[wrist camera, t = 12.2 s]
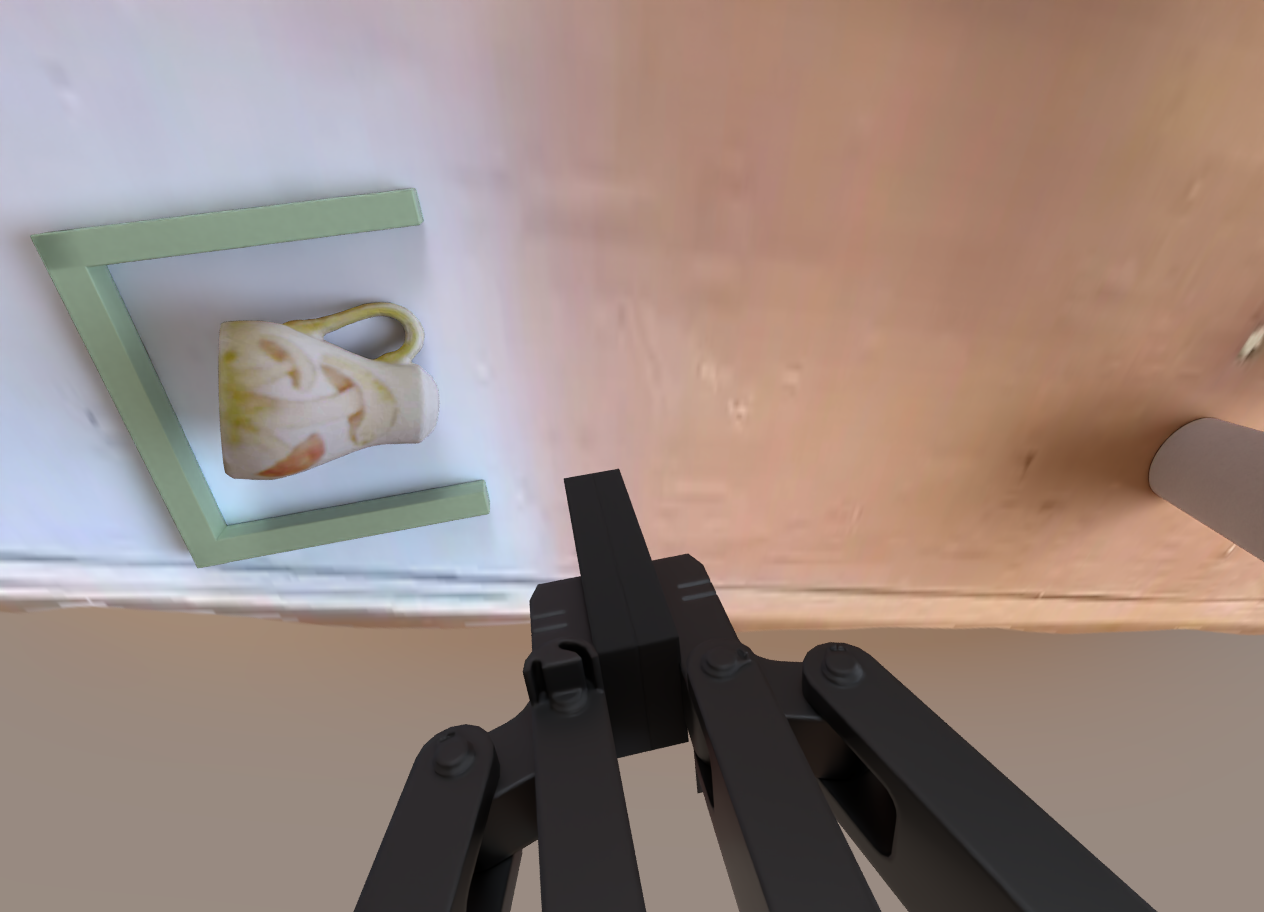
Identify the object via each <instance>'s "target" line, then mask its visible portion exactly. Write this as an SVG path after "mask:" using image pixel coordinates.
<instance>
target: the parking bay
mask: <svg viewBox="0 0 1264 912" xmlns="http://www.w3.org/2000/svg"><path fill="white" fill-rule="evenodd" d="M423 221H424V220H423V216H422V212H421V208H420V203H419V199H418V195H417V191H416V189H415V188H411V189H403V190H394V191H386V192H378V193H369V194H361V195H353V196H344V197H336V198H328V199H319V200H311V201H303V202H294V203H286V204H278V205H269V206H261V207H252V208H244V209H236V210H227V211H219V212H211V213H202V214H194V215H186V216H177V217H169V218H161V219H152V220H144V221H136V222H127V223H119V224H111V225H102V226H94V227H85V228H77V229H69V230H60V231H52V232H46V233H41V234H35V235H31V236H30V237H31V239H32V241H33V243H34V245H35V247H36V249H37V251H38V253H39V255H40V257H41V259H42V261H43V263H44V265H45V267H46V269H47V271H48V273H49V275H50V277H51V279H52V281H53V283H54V285H55V287H56V289H57V291H58V293H59V295H60V297H61V299H62V301H63V302H64V304H65V306H66V308H67V310H68V312H69V314H70V316H71V318H72V320H73V322H74V324H75V326H76V328H77V330H78V332H79V334H80V336H81V338H82V340H83V342H84V344H85V346H86V348H87V350H88V352H89V354H90V356H91V358H92V360H93V362H94V364H95V366H96V368H97V370H98V372H99V374H100V376H101V378H102V380H103V382H104V384H105V386H106V388H107V390H108V392H109V394H110V396H111V398H112V399H113V401H114V403H115V405H116V407H117V409H118V411H119V413H120V415H121V417H122V419H123V421H124V423H125V425H126V427H127V429H128V431H129V433H130V435H131V437H132V439H133V441H134V443H135V445H136V447H137V449H138V451H139V453H140V455H141V457H142V459H143V461H144V463H145V465H146V467H147V469H148V471H149V473H150V475H151V477H152V479H153V481H154V483H155V485H156V487H157V489H158V491H159V493H160V495H161V496H162V498H163V500H164V502H165V504H166V506H167V508H168V510H169V512H170V514H171V516H172V518H173V520H174V522H175V524H176V526H177V528H178V530H179V532H180V534H181V536H182V538H183V540H184V542H185V544H186V546H187V548H188V550H189V552H190V554H191V556H192V558H193V560H194V562H195V564H196V566H197V568H203V567H208V566H213V565H219V564H224V563H228V562H233V561H238V560H244V559H249V558H254V557H260V556H265V555H271V554H276V553H281V552H287V551H292V550H297V549H303V548H308V547H314V546H319V545H324V544H330V543H335V542H340V541H346V540H351V539H357V538H362V537H367V536H373V535H378V534H383V533H389V532H394V531H400V530H405V529H410V528H416V527H421V526H426V525H432V524H437V523H443V522H448V521H453V520H459V519H464V518H469V517H475V516H480V515H486V514H489V512H490V500H489V496H488V491H487V487H486V483H485V480H481V481H475V482H469V483H464V484H458V485H453V486H447V487H441V488H436V489H430V490H425V491H419V492H414V493H408V494H402V495H397V496H391V497H386V498H380V499H374V500H369V501H363V502H358V503H352V504H347V505H341V506H335V507H330V508H324V509H319V510H313V511H307V512H302V513H296V514H291V515H285V516H280V517H274V518H268V519H263V520H257V521H252V522H246V523H240V524H235V525H229V526H227V525H226V523H225V521H224V519H223V517H222V514H221V512H220V510H219V508H218V506H217V504H216V502H215V499H214V497H213V495H212V493H211V491H210V489H209V486H208V484H207V482H206V480H205V478H204V476H203V473H202V471H201V469H200V467H199V465H198V463H197V460H196V458H195V456H194V454H193V452H192V450H191V447H190V445H189V443H188V441H187V439H186V437H185V435H184V432H183V430H182V428H181V426H180V424H179V422H178V419H177V417H176V415H175V413H174V411H173V409H172V406H171V404H170V402H169V400H168V398H167V396H166V393H165V391H164V389H163V387H162V385H161V383H160V380H159V378H158V376H157V374H156V372H155V370H154V368H153V365H152V363H151V361H150V359H149V357H148V355H147V352H146V350H145V348H144V346H143V344H142V342H141V339H140V337H139V335H138V333H137V331H136V329H135V326H134V324H133V322H132V320H131V318H130V316H129V313H128V311H127V309H126V307H125V305H124V303H123V301H122V298H121V296H120V294H119V292H118V290H117V288H116V285H115V283H114V281H113V279H112V277H111V275H110V272H109V270H108V268H107V266H106V265H109V264H117V263H125V262H133V261H141V260H149V259H157V258H165V257H172V256H180V255H188V254H196V253H204V252H212V251H220V250H227V249H235V248H243V247H251V246H259V245H267V244H275V243H283V242H290V241H298V240H306V239H314V238H322V237H330V236H338V235H345V234H353V233H361V232H369V231H377V230H385V229H393V228H401V227H408V226H416V225H420V224H421V223H422V222H423Z"/></svg>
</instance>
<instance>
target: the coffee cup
mask: <svg viewBox="0 0 1264 912" xmlns="http://www.w3.org/2000/svg"><path fill="white" fill-rule="evenodd" d="M1149 483H1150V487H1151V489H1152V490H1153V492H1154V493H1156V494H1157V495H1158V496H1160V497H1161V498H1163V499H1165V500H1166V501H1168V502H1169V503H1171V504H1173V505H1174V506H1176V507H1177V508H1179V509H1181V510H1182V511H1184V512H1185V513H1187V514H1189V515H1190V516H1192V517H1193V518H1195V519H1197V520H1198V521H1200V522H1201V523H1203V524H1204V525H1206V526H1208V527H1209V528H1211V529H1212V530H1214V531H1216V532H1217V533H1219V534H1220V535H1222V536H1224V537H1225V538H1227V539H1228V540H1230V541H1232V542H1233V543H1235V544H1236V545H1238V546H1239V547H1241V548H1243V549H1244V550H1246V551H1247V552H1249V553H1251V554H1252V555H1254V556H1255V557H1257V558H1259V559H1260V560H1262V561H1263V562H1264V432H1262V431H1259V430H1255V429H1252V428H1248V427H1244V426H1241V425H1237V424H1234V423H1230V422H1227V421H1223V420H1219V419H1215V418H1203V419H1199V420H1195V421H1193V422H1191V423H1188V424H1187V425H1185V426H1183V427H1182V428H1180V429H1179V430H1177V431H1176V432H1175V433H1174V434H1172V435H1171V436H1170V437H1169V438H1168V439H1167V440H1166V441H1165V443H1164V444H1163V445H1162V446H1161V448H1160V449H1159V450H1158V452H1157V454H1156V455H1155V457H1154V459H1153V461H1152V464H1151V467H1150V471H1149Z"/></svg>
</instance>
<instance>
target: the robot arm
mask: <svg viewBox="0 0 1264 912" xmlns="http://www.w3.org/2000/svg"><path fill="white" fill-rule="evenodd" d="M564 484H565V489H566V495H567V501H568V506H569V512H570V518H571V523H572V529H573V535H574V540H575V546H576V552H577V558H578V563H579V569H580V574H581V576H579V577H574V578H569V579H564V580H559V581H554V582H549V583H543V584H538V585H537V587H536V589H535V591H534V593H533V595H532V597H531V599H530V618H531V633H532V635H531V636H532V652H531V654H530V655H529V656H528V658H527V659H526V660H525V664H524V668H523V675H524V679H525V683H526V687H527V691H528V695H529V699H530V701H529V702H528V704H527V705H526V707H525V708H524V709H523V710H522V711H521V712H520V713H519V714H518V715H517V716H516V717H515V718H513V719H512V720H510V721H508V722H507V723H505V724H503V725H501V726H499V727H498V728H495V729H494V730H492V731H490V732H486V731H485V730H484V729H482V728H481V727H479V726H473V725H467V724H465V725H460V726H454V727H450V728H448V729H446V730H444V731H442V732H440V733H438V734H436V735H435V736H434V737H433V738H431V739H430V740H429V741H428V742H427V743H426V744H425V745H424V746H423V748H422V749H421V751H420V752H419V754H418V756H417V757H416V759H415V762H414V764H413V767H412V769H411V771H410V774H409V776H408V779H407V781H406V784H405V786H404V789H403V791H402V794H401V796H400V799H399V801H398V803H397V806H396V808H395V811H394V814H393V816H392V819H391V821H390V823H389V826H388V828H387V831H386V833H385V836H384V838H383V841H382V843H381V845H380V848H379V850H378V853H377V855H376V858H375V860H374V863H373V865H372V868H371V870H370V873H369V875H368V877H367V880H366V882H365V885H364V888H363V890H362V892H361V895H360V897H359V900H358V902H357V905H356V907H355V910H354V912H510V910H511V905H512V900H513V895H514V890H515V886H516V881H517V876H518V871H519V866H520V861H521V857H522V849H523V848H525V847H526V846H528V845H530V844H531V843H533V842H534V841H536V840H538V845H539V864H540V884H541V901H542V902H541V903H542V912H646V908H645V903H644V898H643V893H642V887H641V883H640V877H639V871H638V867H637V861H636V856H635V850H634V845H633V840H632V834H631V829H630V824H629V818H628V813H627V808H626V802H625V797H624V792H623V786H622V781H621V776H620V771H619V765H618V760H617V758H621V757H625V756H629V755H633V754H638V753H642V752H646V751H651V750H655V749H659V748H664V747H668V746H672V745H676V744H681V743H685V742H688V741H689V740H688V732H689V735H690V738H691V741H692V744H693V747H694V758H695V769H696V780H697V792H698V793H701V792H703V793H704V797H705V800H706V803H707V807H708V810H709V813H710V817H711V820H712V823H713V826H714V830H715V833H716V836H717V840H718V843H719V846H720V850H721V853H722V856H723V859H724V862H725V866H726V869H727V872H728V876H729V879H730V882H731V886H732V889H733V892H734V895H735V899H736V902H737V905H738V908H739V911H740V912H881V910H880V908H879V906H878V904H877V902H876V900H875V898H874V896H873V894H872V892H871V890H870V888H869V886H868V884H867V882H866V879H865V877H864V875H863V873H862V871H861V870H860V867H859V865H858V863H857V862H856V859H855V857H854V855H853V853H852V851H851V849H850V847H849V845H848V843H847V841H846V839H845V837H844V835H843V833H842V831H841V828H840V826H839V824H838V822H839V823H840V825H841V826H842V827H843V829H844V830H845V831H846V832H847V834H848V835H849V836H850V837H851V839H852V840H853V841H854V843H855V844H856V845H857V846H858V848H859V849H860V850H861V852H862V853H863V854H864V855H865V857H866V858H867V859H868V860H869V862H870V863H871V864H872V866H873V867H874V868H875V869H876V871H877V872H878V873H879V875H880V876H881V877H882V878H883V880H884V881H885V882H886V883H887V885H888V886H889V887H890V888H891V890H892V891H893V892H894V894H895V895H896V896H897V897H898V899H899V900H900V901H901V903H902V904H903V905H904V906H905V908H906V909H907V910H908V911H909V912H1157V911H1156V910H1155V909H1153V908H1152V907H1151V906H1150V905H1149V904H1148V903H1146V901H1145V900H1143V899H1142V898H1141V897H1140V896H1139V895H1138V894H1137V893H1136V892H1134V891H1133V890H1132V889H1131V888H1130V887H1129V886H1128V885H1127V884H1126V883H1124V882H1123V881H1122V880H1121V879H1120V878H1119V877H1118V876H1117V875H1115V874H1114V873H1113V872H1112V871H1111V870H1110V869H1109V868H1108V867H1107V866H1105V865H1104V864H1103V863H1102V862H1101V861H1100V860H1098V858H1096V857H1095V856H1094V855H1093V854H1092V853H1091V852H1090V851H1088V850H1087V849H1086V848H1085V847H1084V846H1083V845H1082V844H1081V843H1080V842H1079V841H1077V840H1076V839H1075V838H1074V837H1073V836H1072V835H1071V834H1070V833H1069V832H1067V831H1066V830H1065V829H1064V828H1063V827H1062V826H1061V825H1059V824H1058V823H1057V822H1056V821H1055V820H1054V819H1053V818H1052V817H1050V816H1049V815H1048V814H1047V813H1046V812H1045V811H1044V810H1043V809H1042V808H1041V807H1039V806H1038V805H1037V804H1036V803H1035V802H1034V801H1033V800H1031V798H1029V797H1028V796H1027V795H1026V794H1025V793H1024V792H1023V791H1021V790H1020V789H1019V788H1018V787H1017V786H1016V785H1015V784H1014V783H1013V782H1012V781H1010V780H1009V779H1008V778H1007V777H1006V776H1005V775H1004V774H1002V773H1001V772H1000V771H999V770H998V769H997V768H996V767H995V766H994V765H992V764H991V763H990V762H989V761H988V760H987V759H986V758H985V757H984V756H982V755H981V754H980V753H979V752H978V751H977V750H976V749H975V748H974V747H972V746H971V745H970V744H969V743H968V742H967V741H966V740H964V739H963V738H962V737H961V736H960V735H959V734H958V733H957V732H956V731H954V730H953V729H952V728H951V727H950V726H949V725H948V724H947V723H945V722H944V721H943V720H942V719H941V718H940V717H939V716H938V715H937V714H935V713H934V712H933V711H932V710H931V709H930V708H929V707H928V706H927V705H925V704H924V703H923V702H922V701H921V700H920V699H919V698H917V696H915V695H914V694H913V693H912V692H911V691H910V690H909V689H908V688H906V687H905V686H904V685H903V684H902V683H901V682H900V681H899V680H897V679H896V678H895V677H894V676H893V675H892V674H891V673H890V672H889V671H887V670H886V669H885V668H884V667H883V666H882V665H881V664H880V663H879V662H877V661H876V660H875V659H874V658H873V657H872V656H871V655H869V654H868V653H866V652H865V651H863V650H862V649H860V648H858V647H855V646H852V645H849V644H846V643H834V642H833V643H832V642H829V643H825V644H821V645H817V646H816V647H814V648H813V649H811V650H810V651H809V652H807V654H806V656H805V658H804V660H803V662H785V661H774V660H769V659H765V658H762V657H759V656H757V655H755V654H754V653H753V652H752V651H751V649H750V648H749V647H747V646H745V645H744V644H742V643H741V642H740V641H739V639H738V637H737V635H736V633H735V631H734V629H733V627H732V625H731V623H730V621H729V618H728V616H727V614H726V612H725V610H724V608H723V606H722V604H721V602H720V600H719V597H718V595H716V591H715V589H714V587H713V585H712V583H711V582H710V578H709V576H708V574H707V572H706V570H705V568H704V566H703V564H701V563H700V562H699V561H697V560H696V559H695V558H693V557H692V556H691V555H689V554H683V555H678V556H673V557H668V558H663V559H658V560H653V561H652V560H651V557H650V554H649V551H648V548H647V546H646V543H645V540H644V537H643V534H642V532H641V529H640V526H639V523H638V520H637V518H636V515H635V512H634V509H633V506H632V504H631V501H630V498H629V495H628V492H627V490H626V487H625V484H624V481H623V478H622V476H621V473H620V470H619V469H615V470H609V471H603V472H598V473H592V474H587V475H581V476H575V477H570V478H564ZM687 728H688V729H687ZM837 821H838V822H837Z"/></svg>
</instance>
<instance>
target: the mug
mask: <svg viewBox="0 0 1264 912" xmlns="http://www.w3.org/2000/svg"><path fill="white" fill-rule="evenodd" d="M375 316H388V317H391V318H394V319H396V320H398V321H399V322H400V323H401V324H402V325H403V327H404V331H405V341H404V344H403V346H402V347H401V348H400V349H398V350H396V351H393V352H389V353H386V354H384V355H382V356H380V357H379V358H377V359H373V360H372V359H367V358H365V357H362V356H359V355H357V354H354V353H352V352H349V351H347V350H345V349H342V348H340V347H338V346H336V345H334V344H331V343H329V342H327V341H325V340H324V338H323V337H324V336H325V335H326V334H327V333H330V332H332V331H335V330H337V329H339V328H341V327H344V326H346V325H349V324H352V323H354V322H357V321H360V320H363V319H367V318H371V317H375ZM423 342H424V330H423V328H422V326H421V323H420V322H419V320H418V319H417V318H416V317H415V316H414V315H413V313H412V312H410V311H409V310H407V309H406V308H405V307H402V306H398V305H395V304H392V303H383V302H378V303H368V304H363V305H360V306H357V307H354V308H351V309H348V310H345V311H342V312H339V313H336V314H332V315H328V316H325V317H321V318H317V319H308V320H293V321H288V322H286V323H283V324H278V323H273V322H267V321H229V322H223V323H221V326H220V332H219V357H218V373H219V412H220V430H221V444H222V455H223V464H224V470H225V473H226V474H227V475H229V476H230V477H232V478H234V479H252V480H273V479H279V478H283V477H286V476H290V475H294V474H297V473H300V472H303V471H306V470H309V469H311V468H314V467H316V466H319V465H322V464H324V463H327V462H329V461H331V460H334V459H337V458H339V457H342V456H344V455H347V454H349V453H352V452H355V451H357V450H360V449H363V448H366V447H371V446H376V445H382V444H405V443H410V444H412V443H420V442H422V441H423V440H424V439H425V438H426V437H428V436H429V435H430V434H431V433H432V432H433V430H434V429H435V427H436V424H437V420H438V415H439V404H440V403H439V390H438V387H437V384H436V383H435V381H434V379H433V377H432V376H431V375H430V374H429V373H428V372H426V371H425V370H424V369H423V368H422V367H421V366H419V365H417V364H414V363H412V362H411V361H412V359H413V358H414V357H415V355H416V354H417V353H418V352H419V351H420V350H421V348H422V346H423Z"/></svg>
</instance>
